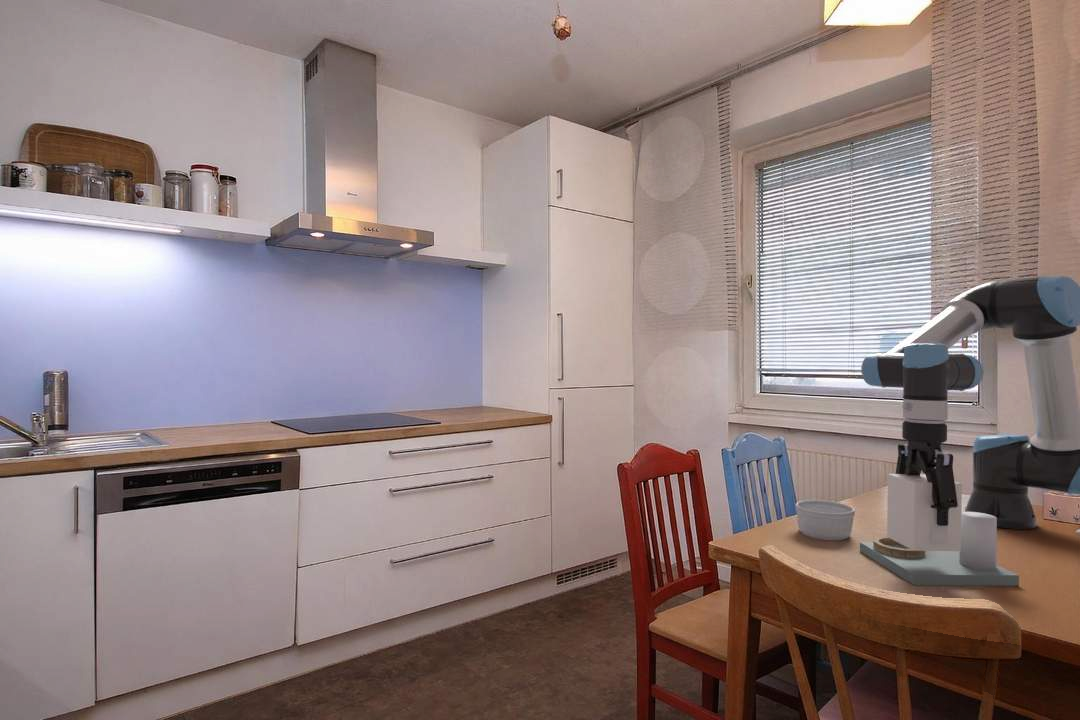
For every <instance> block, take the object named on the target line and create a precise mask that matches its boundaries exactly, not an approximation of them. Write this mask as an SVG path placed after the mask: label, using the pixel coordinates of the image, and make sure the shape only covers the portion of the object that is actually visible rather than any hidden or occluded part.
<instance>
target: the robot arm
mask: <svg viewBox="0 0 1080 720" xmlns="http://www.w3.org/2000/svg"><path fill="white" fill-rule="evenodd" d="M1078 326H1080V285H1079V284H1078V282H1077V281H1076V280H1075V279H1073V278H1071V277H1069V276H1065V275H1057V276H1049V275H1048V276H1047V275H1044V276H1036V277H1027V278H1019V279H1010V280H1009V279H1007V280H997V281H990V282H987V283H984V284H980V285H978V286H976V287H975V286H974V287H972V288H971V289H969V290H967V291H964V292H963V293H960V294H959V295H958V296H956V297H954V298H953V299H951V300H950V301H948V302H947V303H946V304H945V305H944V306H942V308H941V311H940V313H939V314H938V315H936V316H935V317H934V318H932V319H931V320H930V321H928V322H927V323H926V324H924V325H923V326H922V327H920V328H918V329H917V330H916V331H915V332H913V333H912V334H911V335H909V336H908V337H907V338H905V339H904V340H902V341H901V342H900V343H899V344H897V345H895V346H894V347H893V348H892V349H890V350H888V351H887V352H886V353H880V352H879V353H873V354H869V355H867V356H865V357H864V359H863V360H862V363H861V375H862V379H863V381H864V382H865V384H867V385H869V386H872V387H879V388H897V389H899V388H900V389H903V391H902V392H903V393H902V394H903V395H902V399H903V400H902V406H901V407H902V417H903V418H904V419H906V420H904V421H903V422H902V427H901V428H902V432H901V433H902V434H901V435H902V439H903V440H906V441H908V442H907V444H904V443H903V444H902V443H899V444H898V445H897V463H896V468H895V473H894V474H905V475H917V476H920V474H921V473H923V474H926V478H927V481H928V482H930V483H932V499H933V503H934V505H931V541H932V542H947V526H948V511H949V508H953V507H957V506H958V503H957V496H956V488H955V482H956V481H955V475H954V469H953V468H954V467H953V464H954V455H953V454H951V453H944V452H943V451H942V447H941V444H942V443H946V442H947V440H948V425H947V424H946V422H945V421H947V420H949V419H948V412H949V411H948V407H949V406H948V401H949V400H948V391H960V392H964V391H965V390H971V389H974V388H975V387H977V386H978V385H979V384H980V383H981V382H982V380H983V378H984V375H985V374H984V368H983V367H984V366H983V364H982V363H981V362H980V360H979V359H977V358H976V357H974V356H972V355H969V354H965V353H949V349H951V348H952V347H953V346H955V344H957V343H958V342H959V341H961V340H962V339H963V338H965V337H966V336H972V335H975V334H976V333H978V332H980V331H982V330H989V329H990V330H991V329H1011V330H1012V336H1013V339H1015V340H1016V341H1017V342H1020V343H1021V344H1022V349H1023V355H1024V362H1025V368H1026V374H1027V380H1028V388H1029V393H1030V400H1031V406H1032V412H1033V419H1034V425H1035V431H1036V433H1035V434H1034V435H1033V436H1031V438H1030V437H1029V436H1028V435H1027V434H992V435H991V434H990V435H989V434H988V435H980V436H977V437H975V439H974V441H973V447H972V448H973V449H972V491H971V493H970V496H969V499H968V501H967V504H966V506H965V508H964V512H978V513H985V514H989V515H993V516H995V517H996V518H997V528H1001V529H1002V528H1003V529H1013V530H1029V529H1031V530H1032V529H1034V528H1036V527H1037V517H1036V515H1035V512H1034V509H1033V506H1032V503H1031V500H1030V498H1029V488H1033V489H1039V490H1046V491H1052V492H1057V493H1061V494H1062V493H1063V494H1068V495H1070V496H1071V495H1079V496H1080V404H1079V398H1078V390H1077V382H1076V375H1075V369H1074V362H1073V361H1074V360H1073V355H1072V349H1071V341H1070V339H1071V337H1072V336H1074V334H1076V333H1077V331H1078V329H1077V327H1078Z"/></svg>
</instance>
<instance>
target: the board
mask: <svg viewBox="0 0 1080 720" xmlns="http://www.w3.org/2000/svg"><path fill="white" fill-rule="evenodd" d="M997 529H998V527H997V518H996V517H995V516H993V515H989V514H985V513H978V512H965V511H961V551H925V556H923V557H919V558H905V557H898V556H892V555H888V554H885V553H881V552H879V551H877V550H876V549H874V548H873V541H872V542H871V541H870V542H869V541H868V542H867V541H865V542H863V541H860V542H859V552H861V553H862V554H863V555H865V556H867V557H868V558H870V559H872V560H873V561H875V562H877V563H878V564H880V565H882V566H883V567H885V568H886V569H888V570H889V571H891V572H893V573H894V574H896V575H898V576H899V577H901V578H902V579H904V580H905V581H907V582H908V583H910V584H912V585H913V584H914V585H913V586H984V587H985V586H989V587H990V586H991V587H992V586H996V587H997V586H1003V587H1005V586H1007V587H1009V586H1010V587H1012V586H1013V587H1014V586H1016V587H1019V586H1020V575H1019V574H1017V573H1015V572H1013V571H1011V570H1008V569H1007V568H1004V567H1002V566H999V565H997V536H998V535H997V534H998V532H997ZM887 546H890V547H894V548H901V549H910V548H908V547H905V546H898V545H887Z"/></svg>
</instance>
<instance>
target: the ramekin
mask: <svg viewBox="0 0 1080 720" xmlns="http://www.w3.org/2000/svg"><path fill="white" fill-rule="evenodd" d="M795 510H796V518H797V526H798V529H799V530H800V532H801V533H802V535H804V536H807V537H808V538H809V537H810V538H813V539H818V540H822V541H823V540H824V541H843V540H846V539H848V538H849V537H850V535H851V533H852V529H853V522H854V517H855V514H856V513H855V512H856V511H855V508H854V507H852V506H851V505H848V504H846V503H841V502H838V501H837V502H836V501H832V500H820V499H807V500H800V501H797V502H796V503H795Z"/></svg>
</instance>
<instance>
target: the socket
mask: <svg viewBox="0 0 1080 720" xmlns="http://www.w3.org/2000/svg"><path fill="white" fill-rule="evenodd" d="M872 542H873V548H874V549H876V550H877V551H879V552H881V553H885V554H888V555H892V556H898V557H905V558H919V557H923V556H925V551H913V550H911V549H901V548H894V547H890V546H887V545H898V546H904V545H902V544H900V543H898V542H896V541H894V540H892V539H891V538H889V537H887V536H878V537H874V538H873V541H872ZM905 547H906V546H905Z"/></svg>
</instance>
